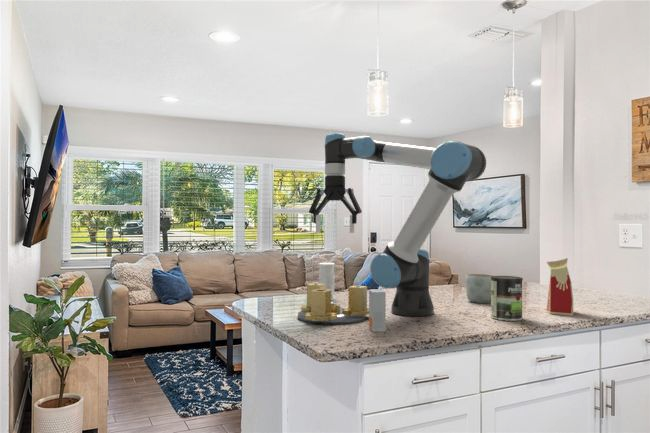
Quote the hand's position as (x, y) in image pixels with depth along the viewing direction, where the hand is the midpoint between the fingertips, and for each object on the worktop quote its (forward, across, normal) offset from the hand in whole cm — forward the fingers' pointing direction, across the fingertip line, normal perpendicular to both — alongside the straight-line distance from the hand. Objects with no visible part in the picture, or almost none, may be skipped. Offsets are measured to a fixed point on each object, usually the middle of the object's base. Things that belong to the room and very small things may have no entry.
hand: (334, 232), depth 193 cm
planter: (+29, -48, -42) cm, 70 cm away
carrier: (+29, -5, +15) cm, 33 cm away
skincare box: (+29, -25, +27) cm, 47 cm away
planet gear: (+27, -5, +24) cm, 37 cm away
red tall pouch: (+29, -77, -28) cm, 87 cm away
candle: (+29, +13, -23) cm, 39 cm away
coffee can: (+29, -60, -9) cm, 67 cm away
